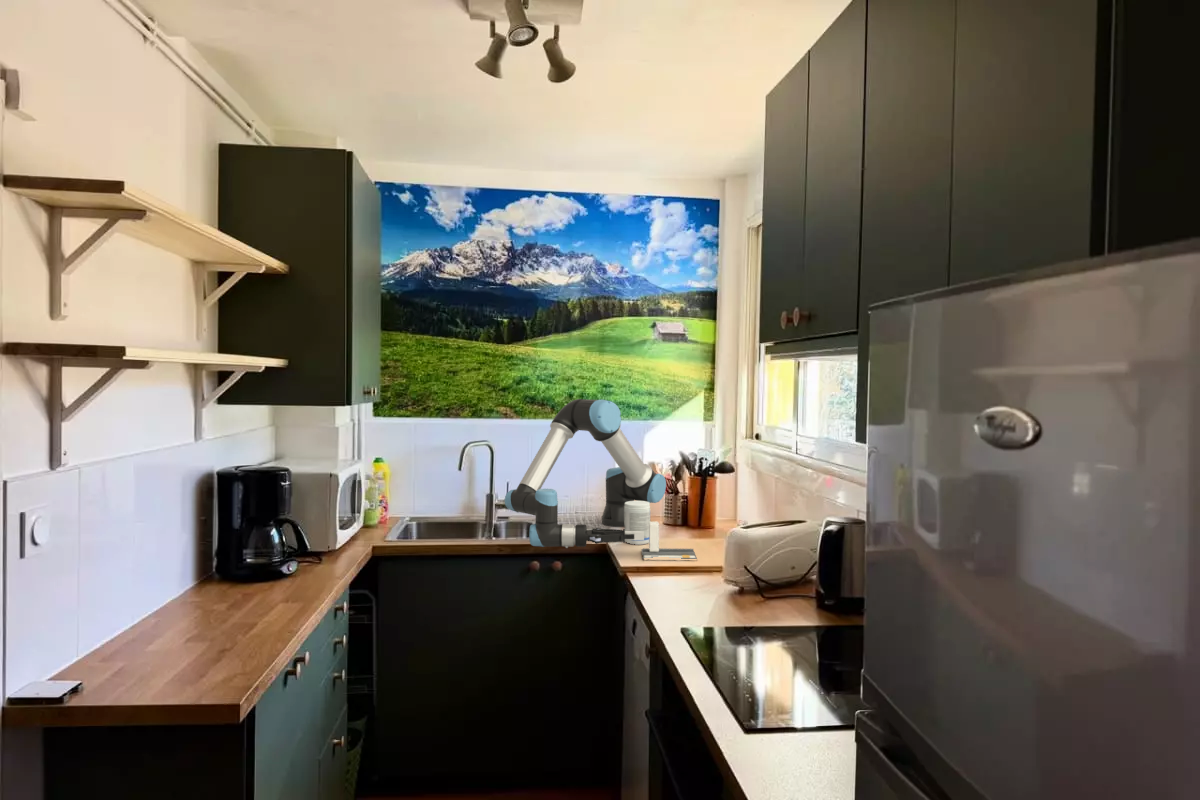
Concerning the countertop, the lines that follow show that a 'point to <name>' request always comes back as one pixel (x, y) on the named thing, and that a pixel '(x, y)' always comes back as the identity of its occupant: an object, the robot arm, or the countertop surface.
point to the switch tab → (653, 537)
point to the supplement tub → (637, 519)
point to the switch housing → (670, 553)
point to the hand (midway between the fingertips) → (643, 535)
